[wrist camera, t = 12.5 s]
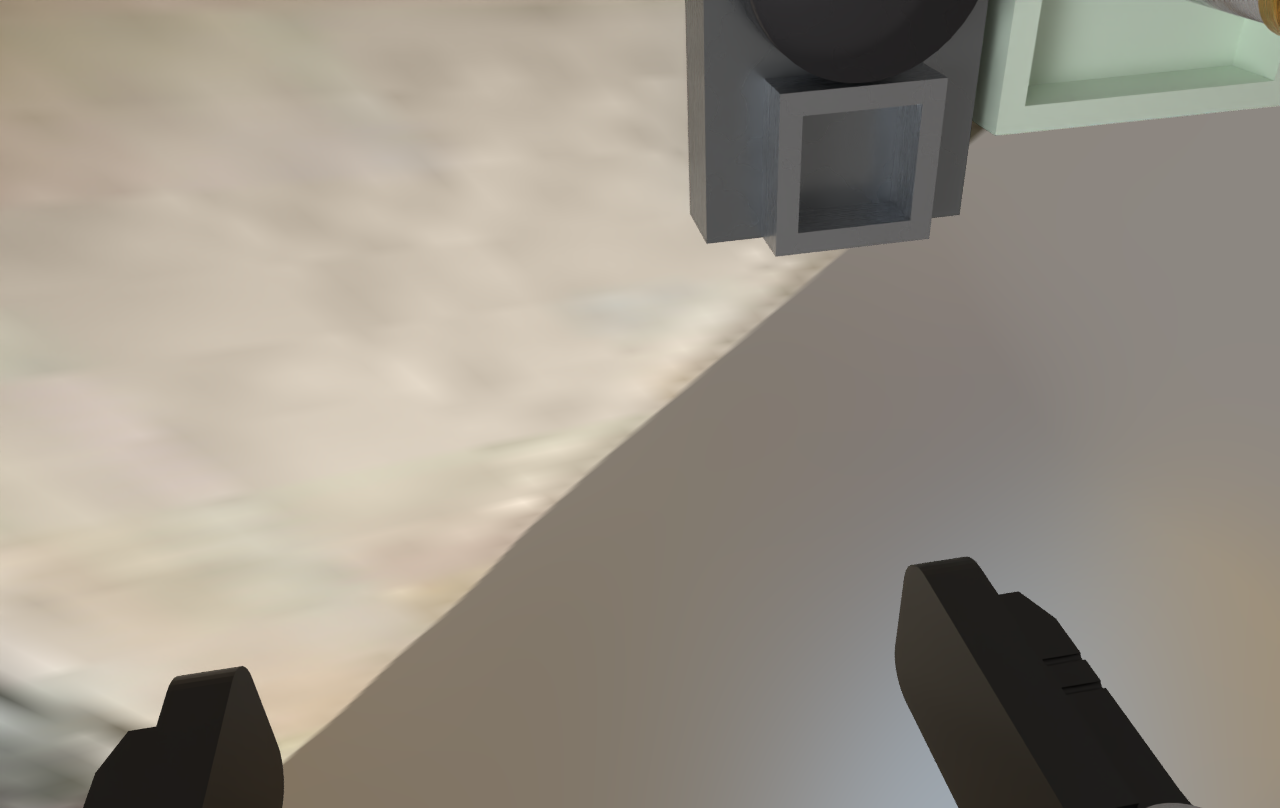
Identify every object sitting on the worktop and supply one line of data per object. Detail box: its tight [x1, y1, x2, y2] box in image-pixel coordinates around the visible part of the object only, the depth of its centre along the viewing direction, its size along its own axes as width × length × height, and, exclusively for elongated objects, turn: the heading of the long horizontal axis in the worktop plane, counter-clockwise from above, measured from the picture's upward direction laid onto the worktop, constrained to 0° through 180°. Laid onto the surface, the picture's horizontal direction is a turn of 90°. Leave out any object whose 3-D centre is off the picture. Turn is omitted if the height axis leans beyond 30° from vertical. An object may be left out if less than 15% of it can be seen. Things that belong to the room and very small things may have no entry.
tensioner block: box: [685, 0, 988, 256], centre depth 34 cm, size 14×10×6 cm
